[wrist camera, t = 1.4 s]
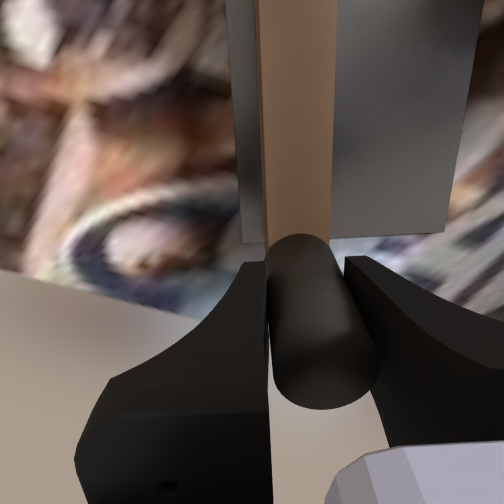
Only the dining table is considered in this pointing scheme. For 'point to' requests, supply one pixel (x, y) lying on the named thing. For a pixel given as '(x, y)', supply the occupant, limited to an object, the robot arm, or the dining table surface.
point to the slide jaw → (305, 211)
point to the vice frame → (372, 113)
